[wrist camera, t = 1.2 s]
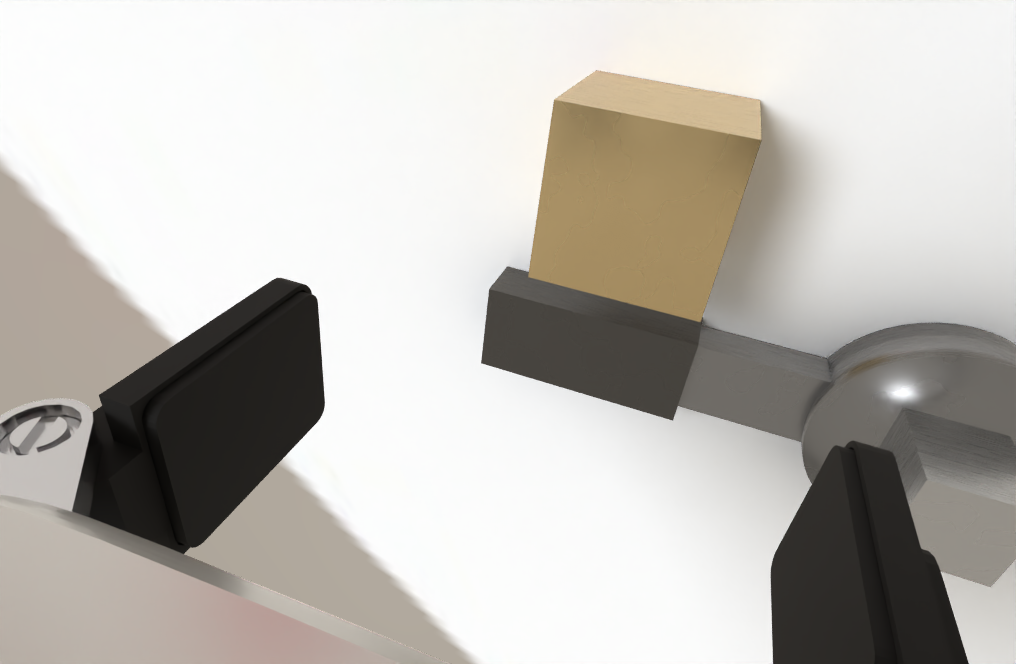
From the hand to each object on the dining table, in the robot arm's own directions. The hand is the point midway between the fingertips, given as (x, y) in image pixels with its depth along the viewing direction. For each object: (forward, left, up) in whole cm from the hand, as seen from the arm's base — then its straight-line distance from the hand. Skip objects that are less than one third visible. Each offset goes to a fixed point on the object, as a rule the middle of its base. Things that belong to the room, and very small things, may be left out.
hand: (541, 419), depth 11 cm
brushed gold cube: (0, 0, -16) cm, 16 cm away
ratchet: (+8, +6, -16) cm, 19 cm away
